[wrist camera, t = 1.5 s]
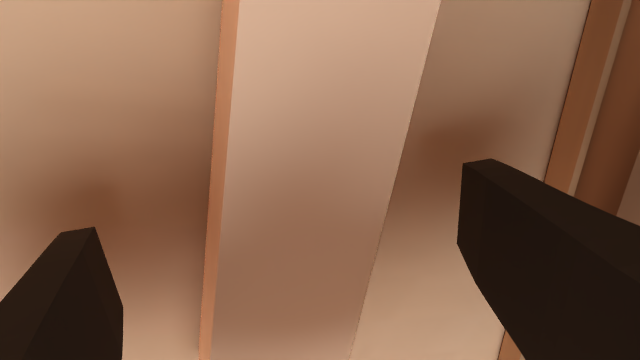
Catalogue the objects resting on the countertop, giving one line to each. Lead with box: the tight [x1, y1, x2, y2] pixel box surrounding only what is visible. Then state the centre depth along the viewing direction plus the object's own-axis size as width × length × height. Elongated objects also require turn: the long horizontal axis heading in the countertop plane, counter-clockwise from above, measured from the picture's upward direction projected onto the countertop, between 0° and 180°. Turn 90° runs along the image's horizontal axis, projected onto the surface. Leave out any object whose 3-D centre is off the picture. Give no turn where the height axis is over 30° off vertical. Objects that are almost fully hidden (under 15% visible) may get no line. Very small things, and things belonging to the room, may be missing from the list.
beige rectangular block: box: [199, 0, 441, 360], centre depth 12 cm, size 3×12×4 cm, turn 171°
